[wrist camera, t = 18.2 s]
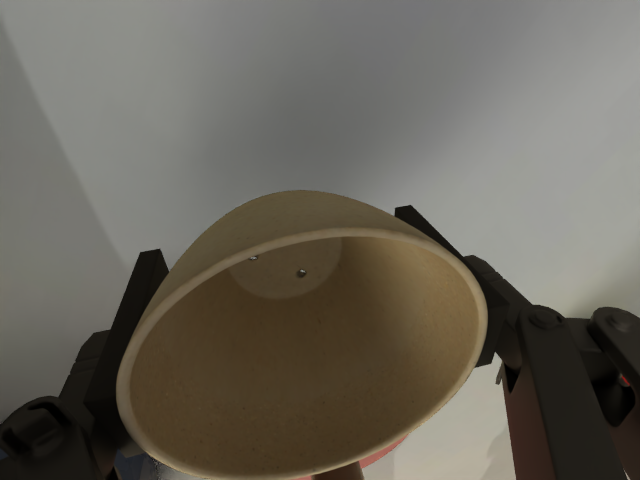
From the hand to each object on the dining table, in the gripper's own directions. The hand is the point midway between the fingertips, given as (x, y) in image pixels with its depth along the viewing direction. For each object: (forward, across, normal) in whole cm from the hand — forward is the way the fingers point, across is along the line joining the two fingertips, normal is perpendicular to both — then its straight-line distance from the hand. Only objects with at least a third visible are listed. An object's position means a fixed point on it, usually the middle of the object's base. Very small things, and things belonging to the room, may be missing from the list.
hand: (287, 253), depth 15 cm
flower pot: (+1, 0, 0) cm, 1 cm away
